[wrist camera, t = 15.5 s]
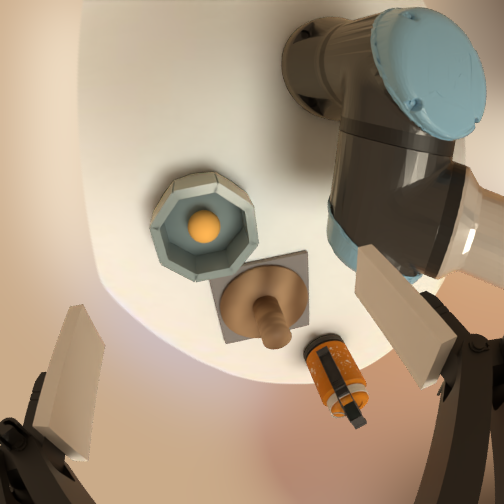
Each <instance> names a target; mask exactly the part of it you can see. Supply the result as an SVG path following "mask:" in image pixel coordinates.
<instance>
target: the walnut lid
mask: <svg viewBox="0 0 504 504" xmlns="http://www.w3.org/2000/svg"><path fill="white" fill-rule="evenodd" d="M307 302H308V291H307V288H306V285H305V283H304V282H303V280H302V278H301V277H300V276H299V275H298V274H297V273H296V272H294V271H293V270H291V269H289V268H287V267H284V266H280V265H261V266H256V267H253V268H250V269H248V270H246V271H244V272H242V273H240V274H239V275H237V276H236V277H235V278H234V279H232V280H231V282H230V283H229V284H228V285H227V286H226V288H225V289H224V291H223V293H222V296H221V300H220V311H221V316H222V319H223V321H224V323H225V324H226V326H227V327H228V328H229V329H230V330H232V331H233V332H235V333H236V334H238V335H241V336H244V337H249V338H262V341H263V344H264V346H265V347H266V348H269V349H279V348H282V347H284V346H286V345H287V344H288V343H289V342H290V340H291V338H292V335H291V332H290V329H289V328H290V327H291V326H292V325H293V324H295V323H296V322H297V321H298V319H299V318H300V317H301V316H302V314H303V312H304V311H305V308H306V306H307Z"/></svg>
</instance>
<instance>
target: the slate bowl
mask: <svg viewBox="0 0 504 504" xmlns="http://www.w3.org/2000/svg"><path fill="white" fill-rule="evenodd" d="M200 210H208V211H211V212H213V213H214V214H215V215H216V216H217V217H218V219H219V221H220V226H221V227H220V232H219V234H218V236H217V237H216V238H215V239H214V240H213V241H211V242H208V243H200V242H197V241H195V240H194V239H193V238H192V237H191V236H190V234H189V232H188V221H189V219H190V217H191V216H192V215H193V214H194V213H196V212H197V211H200ZM150 232H151V235H152V239H153V242H154V245H155V249H156V252H157V255H158V258H159V262H160V263H161V265H162V266H164V267H166V268H168V269H170V270H172V271H174V272H176V273H178V274H180V275H182V276H183V277H185V278H187V279H189V280H191V281H193V282H195V280H196V282H200V281H205V280H210V279H215V278H220V277H225V276H229V275H233V273H234V274H235V273H236V272H237V271H238V269H239V268H240V267H241V266H242V265H243V263H244V262H245V261H246V260H247V258H248V257H249V256H250V255H251V254H252V252H253V251H254V250H255V249H256V247H257V246H258V244H259V240H258V232H257V225H256V217H255V209H254V206H253V204H252V202H251V200H250V198H249V196H248V194H247V193H246V192H245V191H243V190H242V189H240V188H239V187H238V186H237V185H236V184H235V183H233V182H232V181H231V180H229V179H227V178H226V177H223V176H221V175H219V174H218V173H216V172H215V173H214V172H209V173H207V172H200V173H194V174H190V175H187V176H184V177H182V178H179V179H175V181H174V180H173V182H172V183H171V185H170V186H169V188H168V189H167V190H166V191H165V192H164V194H163V196H162V197H161V199H160V202H159V203H158V205H157V206H156V208H155V209H154V211H153V215H152V219H151V223H150Z"/></svg>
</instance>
